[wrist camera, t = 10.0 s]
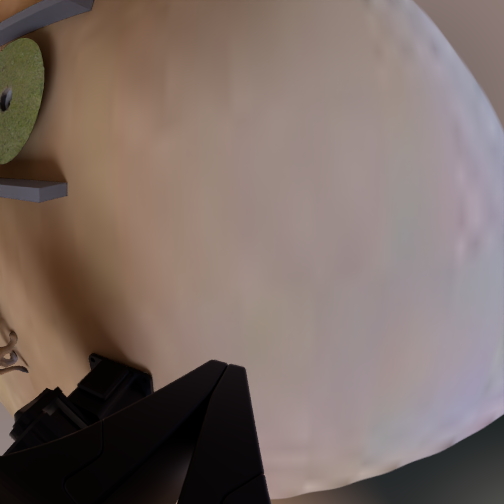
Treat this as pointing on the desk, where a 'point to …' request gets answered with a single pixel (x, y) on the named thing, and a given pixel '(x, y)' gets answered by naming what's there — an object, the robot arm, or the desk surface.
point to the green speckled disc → (19, 94)
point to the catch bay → (32, 18)
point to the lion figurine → (8, 349)
